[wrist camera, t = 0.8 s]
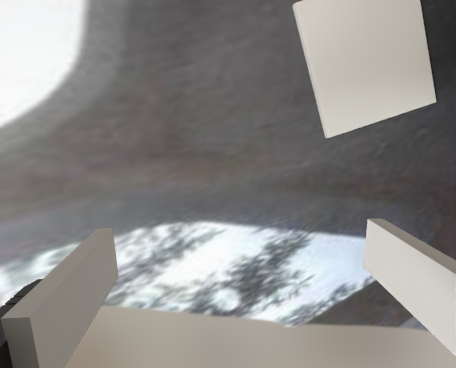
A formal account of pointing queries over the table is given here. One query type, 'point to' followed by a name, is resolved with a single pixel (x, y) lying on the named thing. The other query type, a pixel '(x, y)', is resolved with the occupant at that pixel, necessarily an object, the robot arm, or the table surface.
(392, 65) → the white mat
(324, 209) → the table surface
